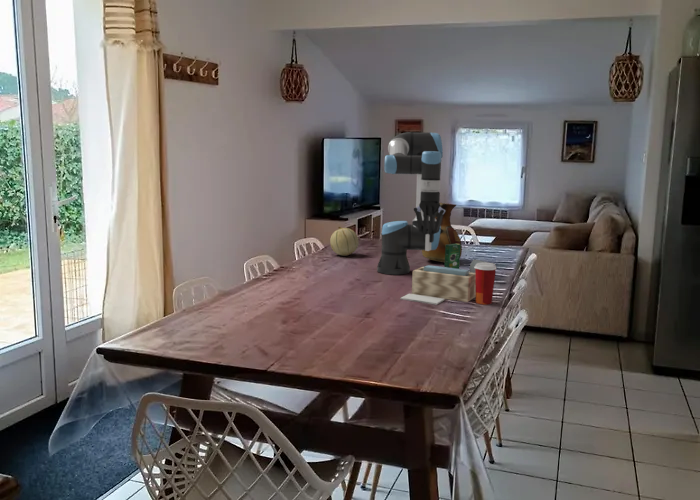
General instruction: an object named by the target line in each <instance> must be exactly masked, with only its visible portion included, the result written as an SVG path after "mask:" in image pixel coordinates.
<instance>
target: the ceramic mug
mask: <svg viewBox="0 0 700 500" xmlns="http://www.w3.org/2000/svg"><path fill="white" fill-rule="evenodd" d="M477 263H489V262H488V261H484V260H479V259H473V260H471V263H470V265H469V272H471V273H475V268H474V267H475V265H476V264H477Z"/></svg>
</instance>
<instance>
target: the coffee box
mask: <svg viewBox="0 0 700 500" xmlns="http://www.w3.org/2000/svg"><path fill="white" fill-rule="evenodd" d="M461 244H462V243H461ZM461 244H448V245H446V247H445V262H444V266H443V267H447V268H455V269H460V263H461V257H460V248H461Z"/></svg>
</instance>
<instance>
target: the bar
mask: <svg viewBox="0 0 700 500" xmlns="http://www.w3.org/2000/svg"><path fill="white" fill-rule="evenodd" d="M423 267H424V271H429V272H437V273H445V274H453V275H461V276H468V275H469V272H470V269H462V268H459V269H455V268H447V267H444V266H440V265H439V266H438V265H431V264H430V265H426V266H423Z"/></svg>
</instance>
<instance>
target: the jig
mask: <svg viewBox="0 0 700 500" xmlns="http://www.w3.org/2000/svg"><path fill="white" fill-rule="evenodd" d="M424 267H425V266H421V267H418V268H416V269H414V270H412V278H411V280H412V281H411V294H416V295H423V296H429V297H436V298H443V299H445V300H451V301H456V300H457V301H456V302H464V303H468V302H470V301H471V300H473V299H476V285H475V273H471V272H470V271H469V275H468V276H461V275H453V274H445V273H437V272H429V271H424Z"/></svg>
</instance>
